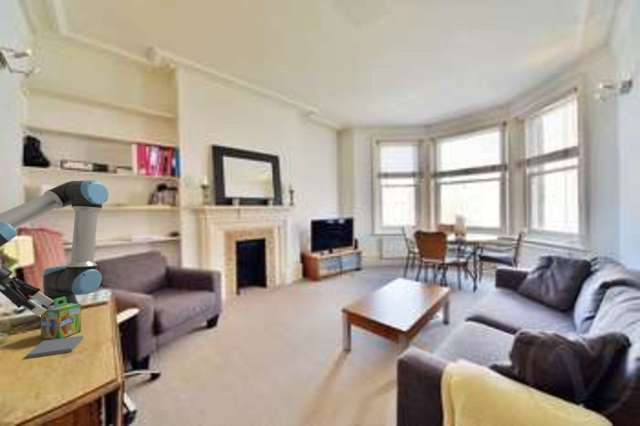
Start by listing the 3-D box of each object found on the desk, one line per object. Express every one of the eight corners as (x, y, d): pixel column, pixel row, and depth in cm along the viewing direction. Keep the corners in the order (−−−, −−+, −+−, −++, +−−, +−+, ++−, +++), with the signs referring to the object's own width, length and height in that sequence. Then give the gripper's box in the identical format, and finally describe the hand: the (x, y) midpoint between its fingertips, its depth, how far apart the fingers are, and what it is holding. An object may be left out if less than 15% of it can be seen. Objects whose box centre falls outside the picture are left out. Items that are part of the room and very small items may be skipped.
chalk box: (58, 340, 114) (58, 301, 114) (39, 338, 116) (39, 300, 116) (82, 331, 123) (82, 295, 123) (64, 329, 125) (64, 294, 125)
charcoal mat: (42, 344, 111) (42, 340, 111) (82, 338, 116) (82, 335, 116) (26, 358, 100) (26, 354, 100) (71, 351, 105) (71, 348, 105)
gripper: (-7, 276, 117) (44, 308, 125) (-35, 289, 96) (28, 326, 104) (13, 261, 120) (61, 293, 128) (-11, 271, 99) (49, 308, 107)
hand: (47, 308), depth 116 cm, fingers open, 13 cm apart
